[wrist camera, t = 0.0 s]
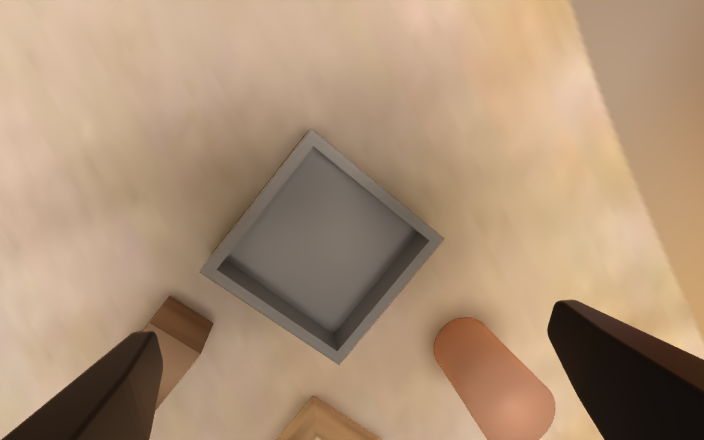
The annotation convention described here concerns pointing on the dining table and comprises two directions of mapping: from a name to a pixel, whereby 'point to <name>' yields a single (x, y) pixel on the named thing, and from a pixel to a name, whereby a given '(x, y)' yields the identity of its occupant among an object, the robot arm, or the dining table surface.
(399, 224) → the tray
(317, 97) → the dining table surface
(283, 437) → the light wood rectangular prism
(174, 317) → the block
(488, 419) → the dowel
